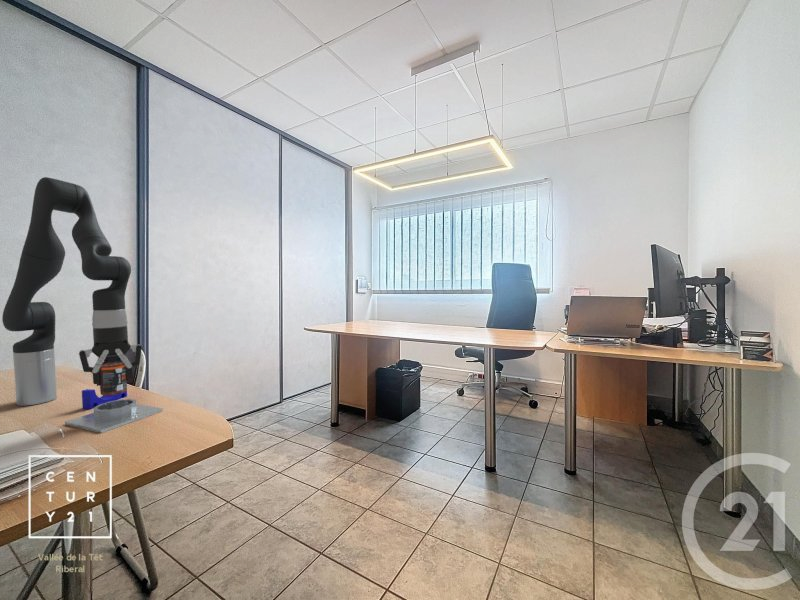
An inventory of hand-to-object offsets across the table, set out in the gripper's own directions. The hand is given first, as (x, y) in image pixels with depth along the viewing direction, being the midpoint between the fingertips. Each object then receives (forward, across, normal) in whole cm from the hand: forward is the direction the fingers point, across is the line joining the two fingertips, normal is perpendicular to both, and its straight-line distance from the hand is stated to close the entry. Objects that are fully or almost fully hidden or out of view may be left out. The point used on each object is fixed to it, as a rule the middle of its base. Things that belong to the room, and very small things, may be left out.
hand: (113, 382), depth 97 cm
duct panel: (+10, 0, 0) cm, 10 cm away
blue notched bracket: (+11, +2, -20) cm, 23 cm away
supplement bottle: (+3, 0, 0) cm, 3 cm away
